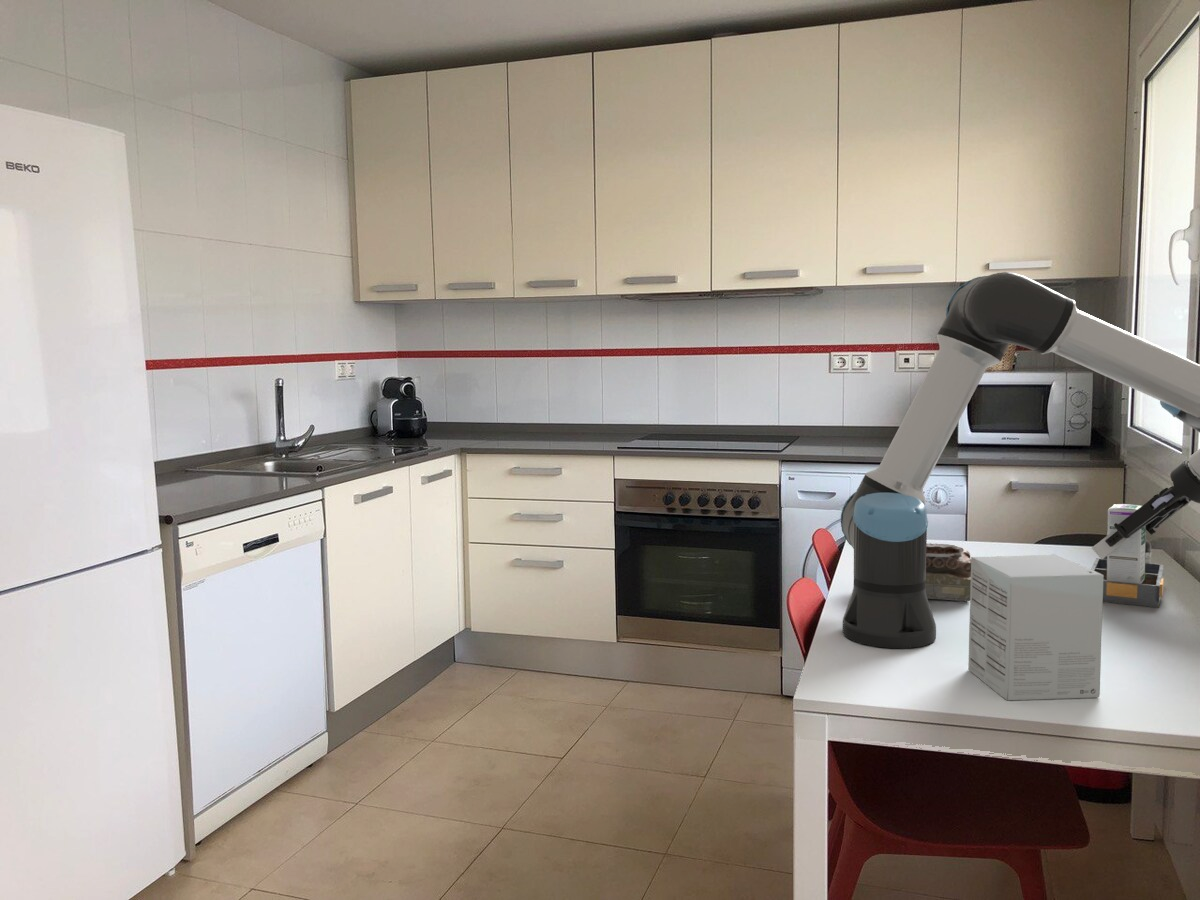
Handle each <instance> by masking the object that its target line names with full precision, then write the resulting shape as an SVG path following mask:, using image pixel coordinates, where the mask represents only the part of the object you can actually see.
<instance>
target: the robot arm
mask: <svg viewBox="0 0 1200 900" xmlns="http://www.w3.org/2000/svg"><path fill="white" fill-rule="evenodd" d="M945 311H946V312H945V319H944V321H943V323H942V325H941V326H940V329H939V331H938V332H937V334H936V338H937V343H938V345H939V346H938V347H939V349H938V352H937V354H936V356H934V357H935V358H934V360H933V361H932V363H931V365H930V367H929V369H928V370H927V373H926V374H925V377H924V379H923V381H922V383H921V385H920V386H919V388H918V390H917V392H916V394H915V395H914V398H913V400H912V402H911V404H910V405H909V408H908V409H907V411H906V413H905V415H904V417H903V419H902V421H901V423H900V425H899V427H898V429H897V431H896V433H895V435H894V437H893V438H892V441H891V443H890V444H889V446H888V448H887V450H886V451H885V454H884V456H883V458H882V460H881V462H880V464H879V466H878V467H877V468H876V469H873V470H870V471H868V472H865V474H864V476H863V478H862V480H861V482H860V484H859V485H858V487H857V489H856V491H855V492H853V493H852V494H851V495H850V496H849V497H848V498H847V500H845V503H844V504H843V507H842V508H841V512H840V527H841V531H842V534H843V536H844V539H845V540H846V541H847V543H848V545H850V546H851V547H852V548H853V587H852V591H851V595H850V598H849V601H848V604H847V607H846V609H845V612H844V615H843V617H842V634H843V636H844V637H846V638H847V639H849V640H852V641H853V642H855V641H856V642H855V643H858V642H859V644H862V643H863V644H862V645H866V644H868V645H867V646H871V645H872V647H878V648H886V649H887V648H889V649H911V648H919V647H924V646H927V645H931V644H932V643H934V642H935V641H936V638H937V624H936V621H935V618H934V615H933V611H932V609H931V605H930V603H929V599H928V598H927V596H926V544H927V538H928V536H927V533H928V526H929V519H928V515H927V514H928V513H927V507H926V503H927V501H926V498H925V494H924V487H925V486H926V484H927V482H928V480H929V479H930V476H931V474H932V473H933V471H934V469H935V467H936V466H937V463H938V461H939V459H940V457H941V456H942V453H943V452H944V450H945V448H946V446H947V444H948V442H949V440H950V439H951V436H952V435H953V433H954V431H955V429H956V427H957V425H958V423H959V421H960V419H961V417H962V416H963V414H964V412H965V410H966V409H967V406H968V404H969V403H970V401H971V398H972V396H973V395H974V393H975V391H976V390H977V387H978V385H979V384H980V382H981V380H982V377H983V376H984V374H985V372H986V370H987V369H989V368H990V367H994V366H997V365H999V364H1001V362H1002V360H1003V357H1004V355H1005V354H1006V352H1007V350H1008V348H1009V346H1010V345H1013V346H1020V347H1022V348H1026V349H1027V350H1028V349H1029V350H1031V351H1033V352H1036V353H1037V354H1040V355H1045V354H1050V353H1054V354H1056V355H1057V356H1060V357H1063V358H1065V359H1067V360H1069V361H1071V362H1073V363H1076V364H1077V365H1080V366H1083V367H1085V368H1087V369H1089V370H1091V371H1093V372H1096V373H1098V374H1100V375H1102V376H1104V377H1106V378H1109V379H1111V380H1113V381H1116V382H1118V383H1119V384H1120V383H1121V384H1122V385H1124V386H1127V387H1130V388H1132V389H1133V390H1136V391H1138V392H1140V393H1142V394H1144V395H1147V396H1149V397H1151V398H1154V399H1156V400H1158V401H1159V404H1160V406H1161V408H1163V409H1164V410H1165V411H1167V412H1168V413H1169V414H1170V415H1172V417H1173V418H1176V419H1178V420H1179V421H1181V422H1183V423H1184V424H1186V425H1187V426H1189V427H1191V428H1192V429H1193V430H1195V431H1197V432H1198V433H1200V363H1199V364H1198V363H1197V362H1194V361H1192V360H1190V359H1188V358H1186V357H1184V356H1181V355H1179V354H1177V353H1175V352H1173V351H1170V350H1169V349H1166V348H1163V347H1161V346H1159V345H1157V344H1154V343H1152V342H1150V341H1148V340H1146V339H1144V338H1141V337H1139V336H1137V335H1134V334H1133V333H1130V332H1128V331H1126V330H1123V329H1122V328H1120V327H1117V326H1115V325H1113V324H1110V323H1108V322H1106V321H1104V320H1102V319H1099V318H1097V317H1095V316H1093V315H1090V314H1089V313H1086V312H1084V311H1082V310H1079V309H1078V308H1077V305H1076V301H1075V300H1074V299H1072V298H1069V297H1067V296H1065V295H1063V294H1061V293H1059V292H1057V291H1055V290H1053V289H1051V288H1049V287H1048V286H1045V285H1043V284H1041V283H1039V282H1037V281H1035V280H1033V279H1031V278H1028V277H1027V276H1025V275H1021V274H1018V273H1015V272H1007V271H1003V272H996V273H995V272H994V273H992V274H990V275H983V276H977V277H975V278H974V277H973V278H972V279H969V280H967V281H965V282H964V283H963V284H962V285H960V286H959V287H958V288H957V289H956V290H955V291H954V293H952V295H951V297H950V298H949V301H948V302H947V306H946V310H945ZM1169 477H1170V481H1172V484H1173V485H1171V486H1170V487H1165V488H1164V489H1162V490H1161V491H1159V493H1156V494H1154V495H1153V496H1152V497H1151V499H1149V500H1148V501H1147V502H1146V503H1144V504H1143V505H1141V506H1142V507H1140V508H1139V509H1138V510H1136V511H1135V512H1134V513H1132V514H1131V515H1130V516H1129V517H1127V518H1126V519H1125V520H1123V521H1122V522H1121V523H1119V524H1117V523H1115V524H1114V526H1115V528H1116V529H1115V530H1114V531H1112V532H1111V533H1110V534H1108V535H1107V534H1106V536H1104V538H1102V539H1101V540H1100V541H1099V542H1097V543H1096V544H1094V545H1093V546H1092V547H1091V549H1092V550H1093V551H1094V552H1095V553H1094V554H1096V555H1097V556H1098V557H1099V559H1104V558H1105V557H1106V556H1108V555H1109V554H1110V553H1111V552H1113V551H1114V550H1115V549H1117V548H1118V547H1119V546H1120V545H1122V544H1123V543H1124V542H1126V541H1127V540H1128V539H1129V537H1130V536H1131V535H1133V534H1134V533H1135V532H1137V531H1138V530H1140V529H1141V528H1143V527H1144V526H1146V535H1147V534H1148V533H1149V535H1151V536H1152V535H1154V534H1155V533H1156V530H1155V529H1158V528H1159V527H1160V526H1161V525H1162V524H1163V523H1165V522H1166V521H1167V520H1169V519H1170V518H1171V517H1172V516H1174V515H1175V514H1176V513H1178V512H1179V511H1180V510H1181V509H1182V508H1185V507H1186V506H1187V505H1188V504H1189V503H1190V502H1194V503H1198V504H1200V448H1198V449H1197V450H1196V451H1195V452H1194V453H1193V454H1191V455H1190V456H1189V457H1188V460H1185V461H1183V462H1182V463H1181V464H1179V465H1178V466H1176V467H1175V468H1174V469H1172V471H1171V472H1170V475H1169Z"/></svg>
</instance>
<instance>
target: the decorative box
mask: <svg viewBox="0 0 1200 900" xmlns="http://www.w3.org/2000/svg"><path fill="white" fill-rule="evenodd" d="M970 587H971V554H970V552H969V550H966V549H964V548H963V547H962V546H961V547H960V546H957V545H955V544H954V545H953V544H946V543H932V542H931V543H930V542H928V543H927V544H926V596H927V599H928V600H943V601H944V600H945V601H957V602H958V601H959V602H970Z"/></svg>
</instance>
